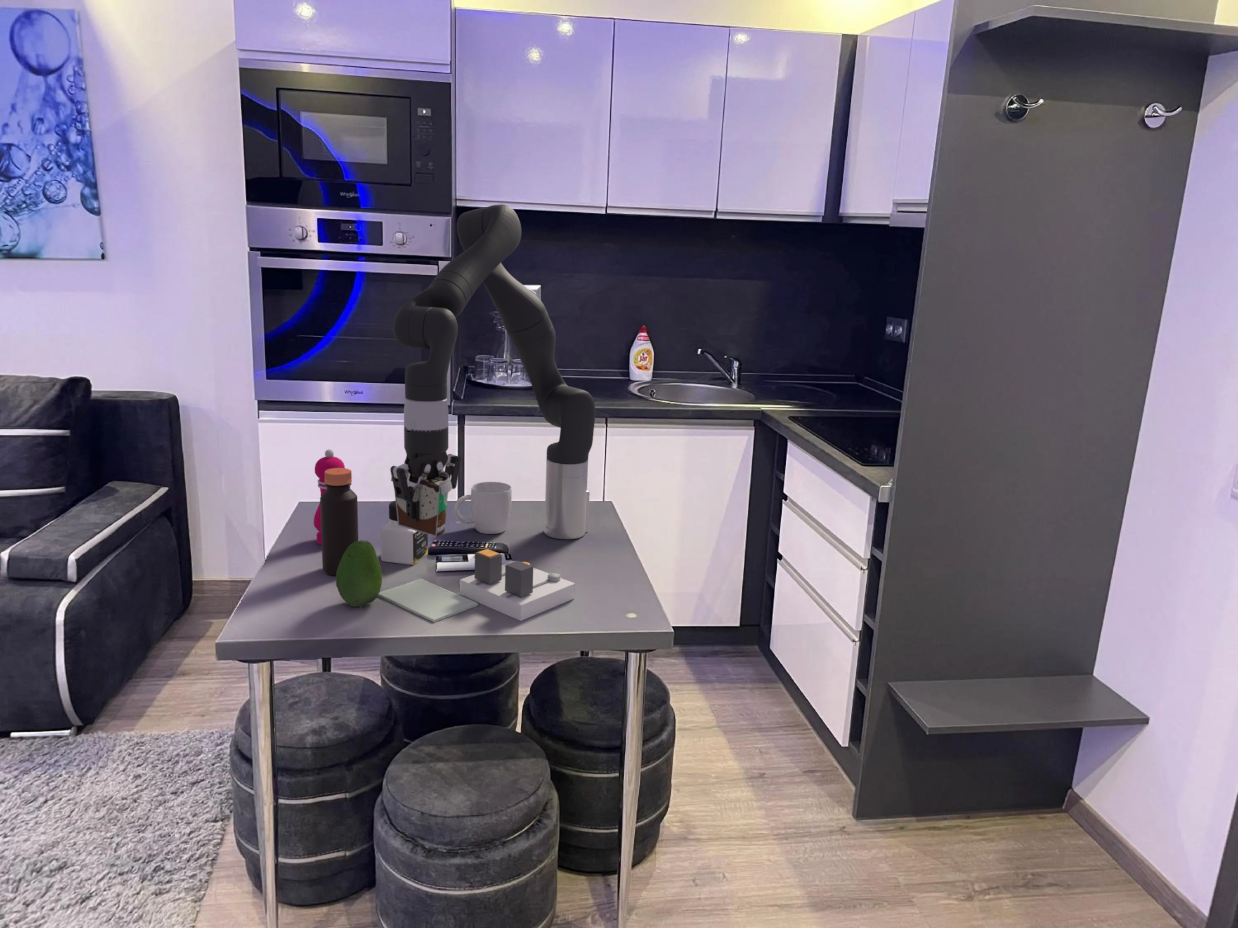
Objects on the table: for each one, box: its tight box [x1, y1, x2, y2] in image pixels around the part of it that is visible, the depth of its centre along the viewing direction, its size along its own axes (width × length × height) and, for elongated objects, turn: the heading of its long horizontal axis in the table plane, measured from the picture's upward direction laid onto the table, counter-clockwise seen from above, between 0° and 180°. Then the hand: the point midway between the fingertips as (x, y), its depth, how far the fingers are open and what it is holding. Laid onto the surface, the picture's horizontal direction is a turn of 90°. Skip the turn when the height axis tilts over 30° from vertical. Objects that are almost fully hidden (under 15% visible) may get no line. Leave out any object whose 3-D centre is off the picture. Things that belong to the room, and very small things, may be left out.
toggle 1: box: [474, 548, 503, 585], centre depth 165 cm, size 3×4×5 cm
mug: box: [453, 481, 513, 535], centre depth 200 cm, size 13×9×10 cm
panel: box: [459, 560, 576, 622], centre depth 166 cm, size 14×16×4 cm
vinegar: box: [319, 467, 359, 577], centre depth 172 cm, size 7×7×20 cm
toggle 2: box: [505, 560, 534, 597], centre depth 160 cm, size 3×4×5 cm
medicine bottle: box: [380, 500, 429, 566], centre depth 181 cm, size 7×7×12 cm
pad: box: [377, 578, 479, 623], centre depth 163 cm, size 10×16×1 cm, turn 51°
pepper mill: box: [313, 448, 346, 546], centre depth 187 cm, size 7×7×20 cm
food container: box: [390, 471, 453, 538], centre depth 159 cm, size 12×6×10 cm, turn 57°
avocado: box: [335, 539, 383, 608], centre depth 158 cm, size 8×8×12 cm
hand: (426, 516), depth 159 cm, fingers closed on food container, 5 cm apart
